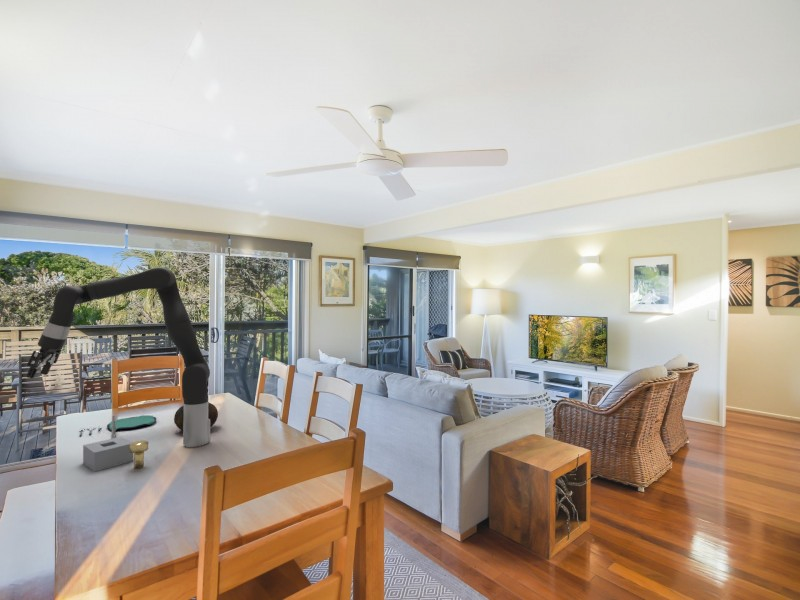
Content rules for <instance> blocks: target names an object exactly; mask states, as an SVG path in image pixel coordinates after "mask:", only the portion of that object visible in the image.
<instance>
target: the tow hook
mask: <svg viewBox="0 0 800 600" xmlns="http://www.w3.org/2000/svg"><path fill="white" fill-rule="evenodd" d="M111 422H112V431H111V436H110V437H111V438H110V439H113V438H117V434H116V431H115V415H112V416H111Z"/></svg>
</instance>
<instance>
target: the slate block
mask: <svg viewBox="0 0 800 600" xmlns="http://www.w3.org/2000/svg"><path fill="white" fill-rule="evenodd" d="M131 443H133V441H132V442H131V441H130V440H128V439H126V438H124V437H123V436H116V438H113V439H111V438H108V439H105V440H99V441H96V442H92V443H91V442H90V443H87V444H83V445H82V449H83V450H82V454H83V456H82V457H83V458H82V463H83V464H84V465H85V466H86V467H88V468H89V469H90V470H92V471H93V472H97V471H101V470H105V469H108V468H113V467H116V466H120V465H122V464H126V463H130V461H131V462H134V453H130V444H131ZM119 464H120V465H119ZM115 465H116V466H115Z"/></svg>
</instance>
